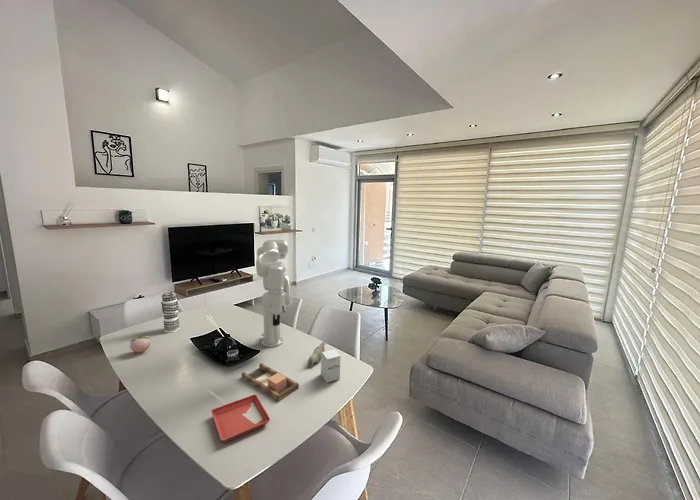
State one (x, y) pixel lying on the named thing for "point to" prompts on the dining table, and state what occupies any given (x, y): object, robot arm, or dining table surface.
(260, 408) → the red shallow tray
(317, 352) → the decorative bird
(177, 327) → the model tower building
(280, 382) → the terracotta block
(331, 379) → the supplement box
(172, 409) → the dining table surface
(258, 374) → the wooden tray
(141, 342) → the decorative fruit
